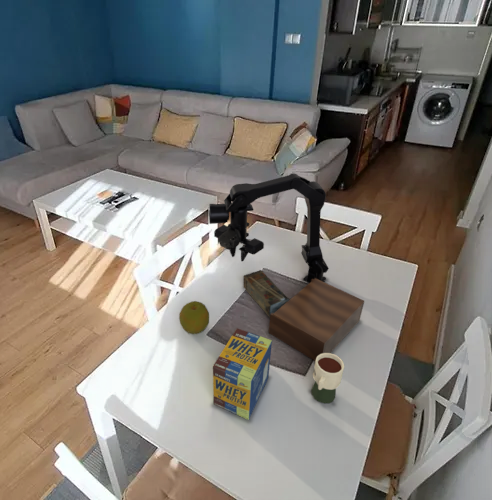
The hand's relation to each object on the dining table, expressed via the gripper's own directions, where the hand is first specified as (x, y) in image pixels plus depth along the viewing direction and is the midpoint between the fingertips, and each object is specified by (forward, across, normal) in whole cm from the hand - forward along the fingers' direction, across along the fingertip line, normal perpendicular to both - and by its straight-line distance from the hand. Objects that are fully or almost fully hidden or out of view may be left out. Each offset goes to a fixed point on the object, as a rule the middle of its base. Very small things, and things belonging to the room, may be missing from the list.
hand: (237, 258), depth 140 cm
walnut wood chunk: (+12, +34, 0) cm, 36 cm away
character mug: (+12, +49, -21) cm, 55 cm away
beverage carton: (+12, +13, 0) cm, 18 cm away
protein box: (+12, +32, -35) cm, 49 cm away
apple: (+12, +5, -28) cm, 30 cm away
